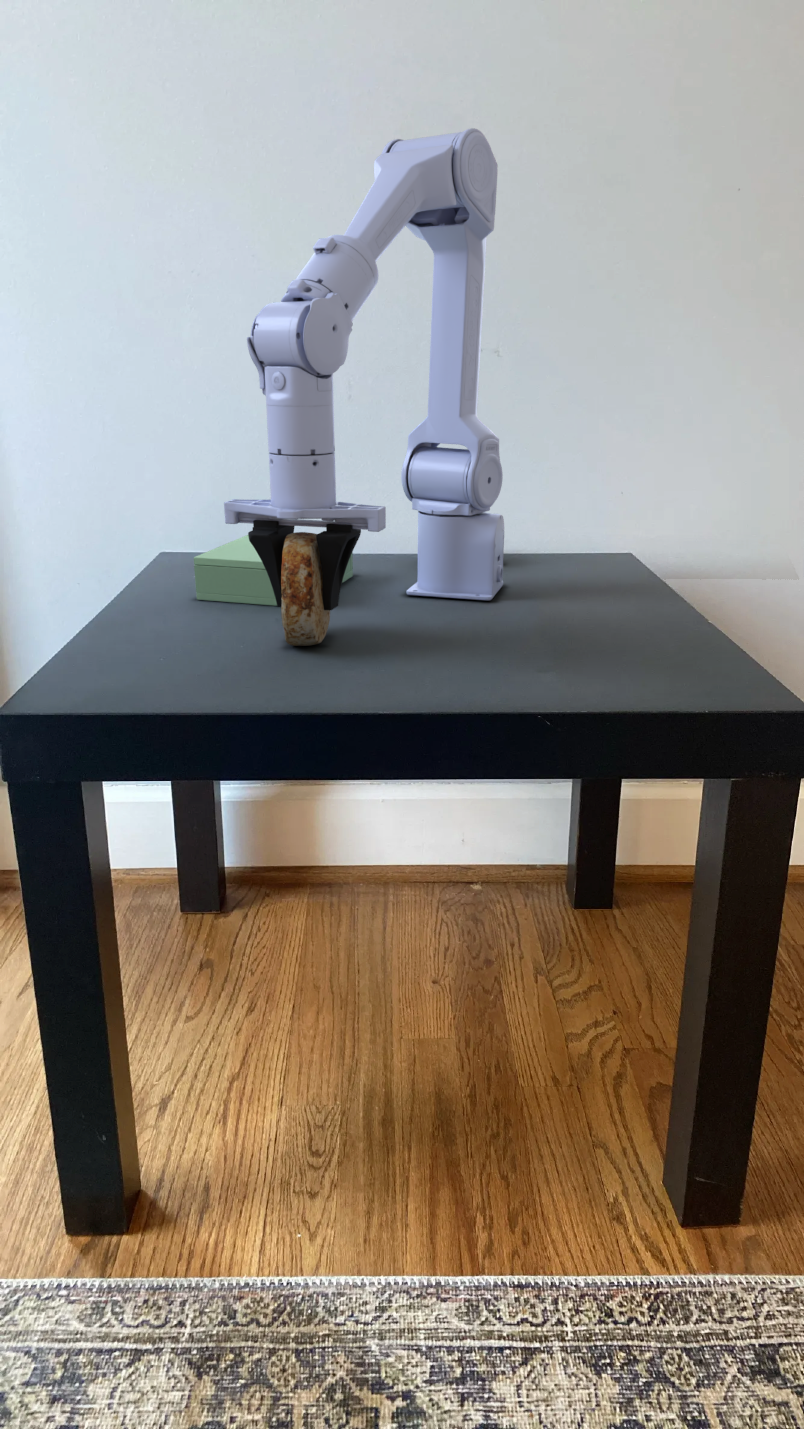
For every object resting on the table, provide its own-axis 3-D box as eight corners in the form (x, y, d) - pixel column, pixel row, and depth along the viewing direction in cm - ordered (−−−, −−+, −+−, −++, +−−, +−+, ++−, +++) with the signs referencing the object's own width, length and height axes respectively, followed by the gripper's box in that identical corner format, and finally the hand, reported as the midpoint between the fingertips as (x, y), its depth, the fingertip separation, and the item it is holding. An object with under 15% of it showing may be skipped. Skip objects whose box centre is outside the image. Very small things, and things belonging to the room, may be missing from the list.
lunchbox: (353, 576, 113) (352, 544, 111) (305, 608, 99) (304, 572, 97) (256, 569, 116) (254, 538, 114) (196, 599, 102) (193, 565, 100)
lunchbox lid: (356, 544, 111) (356, 537, 111) (308, 572, 97) (308, 564, 97) (254, 538, 114) (254, 531, 114) (193, 564, 100) (193, 557, 100)
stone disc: (317, 659, 82) (316, 545, 79) (276, 657, 83) (273, 543, 79) (336, 626, 92) (336, 524, 88) (299, 624, 92) (297, 522, 89)
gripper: (204, 454, 79) (215, 610, 84) (367, 460, 76) (369, 623, 81) (239, 446, 86) (248, 592, 91) (392, 451, 82) (392, 603, 87)
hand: (307, 605), depth 86 cm, fingers closed on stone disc, 4 cm apart
